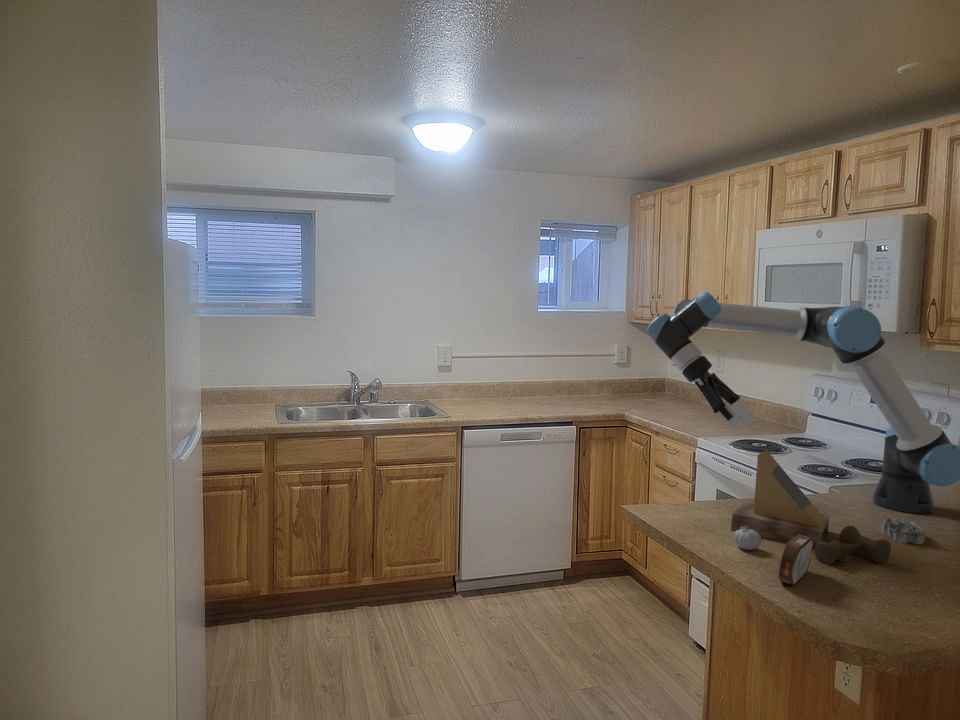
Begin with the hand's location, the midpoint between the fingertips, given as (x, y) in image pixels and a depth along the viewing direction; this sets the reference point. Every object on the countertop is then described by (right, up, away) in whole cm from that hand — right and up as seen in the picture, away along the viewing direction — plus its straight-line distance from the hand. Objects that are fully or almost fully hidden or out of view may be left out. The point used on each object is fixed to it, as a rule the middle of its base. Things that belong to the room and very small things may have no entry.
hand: (746, 425), depth 180 cm
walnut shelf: (+5, -26, -8) cm, 27 cm away
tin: (-5, -28, -39) cm, 48 cm away
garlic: (-8, -26, -22) cm, 36 cm away
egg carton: (+36, -27, -9) cm, 46 cm away
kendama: (+14, -28, -25) cm, 40 cm away
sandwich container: (+7, -22, -10) cm, 25 cm away
